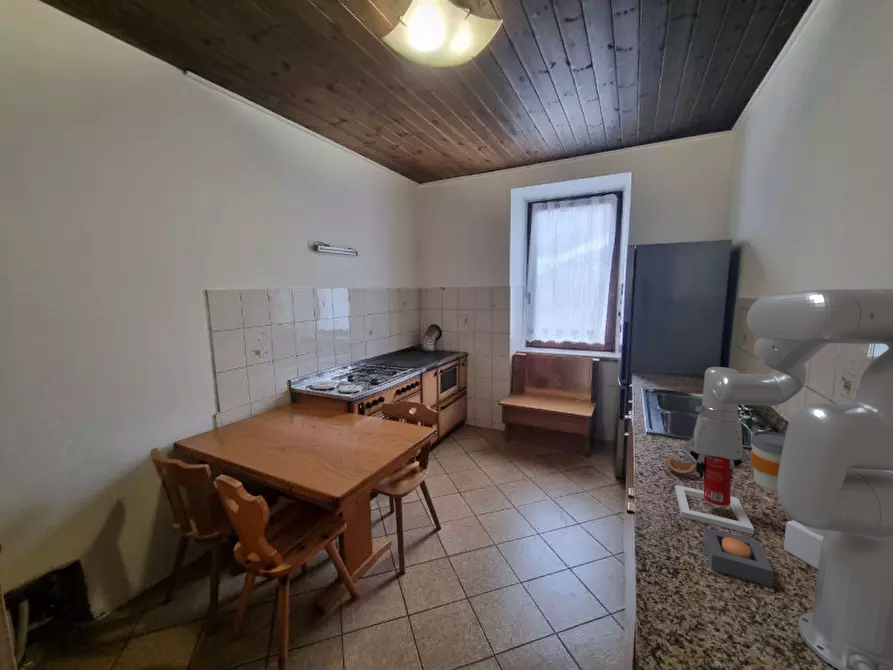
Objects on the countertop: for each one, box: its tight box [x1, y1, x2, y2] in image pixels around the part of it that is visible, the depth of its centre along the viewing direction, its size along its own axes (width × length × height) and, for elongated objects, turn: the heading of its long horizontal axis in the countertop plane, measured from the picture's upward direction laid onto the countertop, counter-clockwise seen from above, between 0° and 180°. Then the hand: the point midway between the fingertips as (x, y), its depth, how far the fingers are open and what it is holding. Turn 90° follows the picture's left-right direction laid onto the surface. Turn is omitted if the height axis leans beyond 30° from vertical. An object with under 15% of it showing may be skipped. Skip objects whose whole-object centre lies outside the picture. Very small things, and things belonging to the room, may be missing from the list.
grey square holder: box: [702, 527, 775, 588], centre depth 77 cm, size 10×10×4 cm
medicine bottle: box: [783, 519, 827, 570], centre depth 78 cm, size 7×7×12 cm
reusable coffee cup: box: [750, 430, 786, 492], centre depth 108 cm, size 13×13×15 cm
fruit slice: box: [665, 455, 696, 476], centre depth 115 cm, size 8×7×5 cm
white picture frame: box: [674, 484, 755, 535], centre depth 96 cm, size 15×15×2 cm
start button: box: [722, 537, 751, 559], centre depth 77 cm, size 5×5×2 cm
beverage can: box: [703, 455, 732, 508], centre depth 95 cm, size 6×6×15 cm
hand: (713, 477), depth 95 cm, fingers closed on beverage can, 4 cm apart
